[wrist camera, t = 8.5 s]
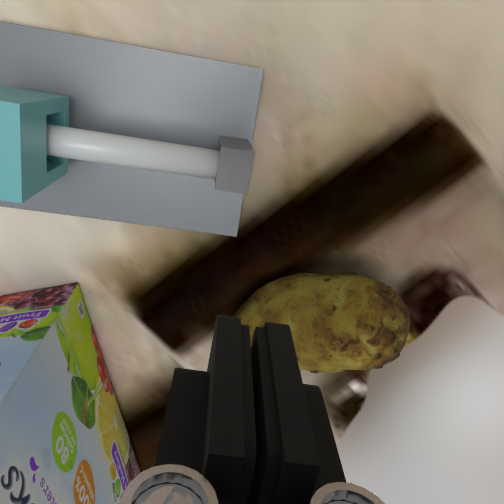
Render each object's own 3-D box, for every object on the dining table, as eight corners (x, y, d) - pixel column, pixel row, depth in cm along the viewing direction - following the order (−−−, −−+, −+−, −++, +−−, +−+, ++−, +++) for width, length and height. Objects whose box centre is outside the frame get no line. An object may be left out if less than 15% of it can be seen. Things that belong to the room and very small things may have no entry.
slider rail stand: (261, 69, 30) (275, 67, 24) (236, 231, 35) (241, 269, 28) (-83, 6, 28) (-179, -16, 21) (-65, 192, 32) (-140, 223, 25)
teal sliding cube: (69, 96, 27) (19, 103, 20) (68, 172, 29) (21, 203, 22) (1, 85, 27) (-74, 89, 20) (4, 163, 29) (-64, 192, 22)
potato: (237, 247, 35) (243, 292, 28) (390, 259, 37) (434, 305, 29) (227, 335, 38) (230, 398, 31) (369, 343, 40) (404, 404, 32)
